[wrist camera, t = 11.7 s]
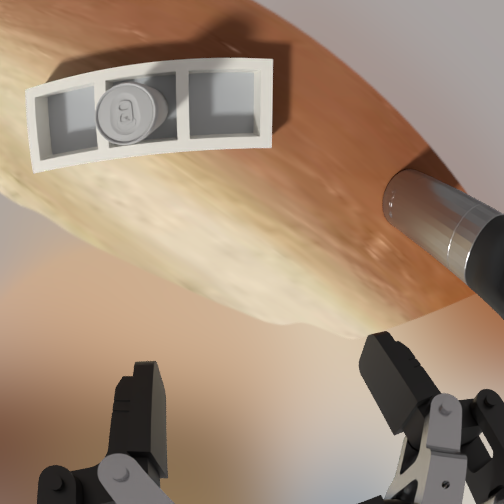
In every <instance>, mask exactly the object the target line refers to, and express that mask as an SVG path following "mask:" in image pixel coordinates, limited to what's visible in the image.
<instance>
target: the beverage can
mask: <svg viewBox="0 0 504 504" xmlns="http://www.w3.org/2000/svg"><path fill="white" fill-rule="evenodd" d="M167 114H168V103H167V100H166V99H165V97H164V95H163V94H162V93H161V92H160V91H158V90H156V89H154V88H151V87H149V86H146V85H144V84H141V83H137V82H122V83H120V84H117V85H115V86H113V87H112V88H110V89H109V90H107V91H106V92H105V93H104V94H103V95H102V96H101V98H100V100H99V101H98V103H97V106H96V110H95V123H96V127H97V129H98V131H99V133H100V134H101V135H102V136H103V137H104V138H105V139H106V140H108V141H109V142H111V143H114V144H119V145H131V144H134V143H137V142H140V141H141V140H143V139H144V138H146V137H147V136H148V135H150V134H151V133H152V132H153V131H154V130H156V129H157V128H158V127H159V126H160V125H161V124H162V123H163V122H164V121H165V119H166V117H167Z"/></svg>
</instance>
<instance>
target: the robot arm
mask: <svg viewBox="0 0 504 504" xmlns="http://www.w3.org/2000/svg"><path fill="white" fill-rule="evenodd" d="M383 212H384V215H385V217H386V219H387V221H388V222H389V223H390V224H391V225H393V226H394V227H396V228H397V229H398V230H400V231H401V232H402V233H404V234H405V235H406V236H407V237H409V238H410V239H411V240H413V241H414V242H415V243H416V244H418V245H419V246H420V247H422V248H423V249H424V250H425V251H427V252H428V253H429V254H430V255H432V256H433V257H434V258H435V259H437V260H438V261H439V262H440V263H442V264H443V265H444V266H445V267H446V268H448V269H449V270H450V271H451V272H452V273H454V274H455V275H456V276H457V277H458V278H460V279H461V280H462V281H463V282H464V283H465V284H466V285H468V286H469V287H470V288H471V289H472V290H473V291H474V292H475V293H477V294H478V295H479V296H480V297H481V298H482V299H483V300H484V301H485V302H486V303H488V304H489V305H490V306H491V307H492V308H493V309H494V310H495V311H496V312H497V313H498V314H499V315H500V316H501V317H502V318H503V320H504V214H502V213H501V212H499V211H497V210H496V209H494V208H492V207H490V206H488V205H486V204H485V203H483V202H481V201H479V200H477V199H475V198H473V197H471V196H470V195H468V194H466V193H464V192H462V191H460V190H458V189H456V188H454V187H452V186H450V185H448V184H446V183H443V182H441V181H439V180H437V179H435V178H433V177H431V176H429V175H426V174H424V173H422V172H419V171H417V170H415V169H407V170H403V171H401V172H399V173H398V174H397V175H395V176H394V177H393V179H392V180H391V181H390V182H389V184H388V186H387V188H386V190H385V193H384V197H383ZM359 370H360V373H361V376H362V377H363V379H364V381H365V383H366V385H367V386H368V388H369V390H370V392H371V394H372V395H373V397H374V399H375V401H376V403H377V405H378V406H379V408H380V410H381V412H382V414H383V416H384V418H385V419H386V421H387V423H388V425H389V427H390V429H391V431H392V432H393V434H394V435H396V434H399V433H402V432H404V433H405V435H406V436H405V438H404V440H403V445H402V449H401V454H400V458H399V463H398V466H397V470H396V474H395V477H394V480H393V481H392V483H391V485H390V486H389V488H388V490H387V492H386V495H385V498H384V499H383V498H382V496H381V495H379V496H377V497H374V498H372V499H369V500H367V501H364V502H361V503H358V504H462V499H463V493H464V486H465V480H466V483H467V485H468V487H469V489H470V491H471V493H472V495H473V498H474V500H475V502H476V504H504V402H503V401H502V399H501V398H500V396H499V395H498V394H497V393H496V392H494V391H493V390H490V389H483V390H481V391H480V392H479V393H478V394H477V396H476V397H475V398H474V399H467V400H457V398H455V397H454V396H452V395H450V394H442V393H441V392H440V391H439V390H438V388H437V387H436V385H435V384H434V383H433V381H432V380H431V378H430V377H429V375H428V374H427V373H426V371H425V370H424V368H423V367H422V366H420V363H419V362H418V360H417V359H415V356H414V355H413V353H412V352H411V351H410V349H409V348H407V347H406V346H405V345H404V344H402V343H401V342H399V341H397V342H396V341H395V340H394V339H393V337H392V336H391V335H390V333H388V332H387V331H384V332H380V333H375V334H371V335H369V336H368V337H367V339H366V342H365V345H364V348H363V351H362V354H361V357H360V360H359ZM482 432H483V434H484V436H485V437H486V439H487V441H488V443H489V444H490V446H491V448H492V450H493V458H491V457H490V455H489V453H488V451H487V450H486V448H485V446H484V444H483V443H482V441H481V439H480V437H479V435H480V433H482ZM160 478H168V471H167V445H166V395H165V389H164V385H163V382H162V378H161V375H160V372H159V368H158V365H157V362H156V361H146V362H135V365H134V372H133V376H123V377H122V379H121V380H120V382H119V383H118V385H117V387H116V389H115V396H114V404H113V413H112V418H111V428H110V436H109V446H108V452H107V454H106V456H105V458H104V459H103V460H102V461H101V462H100V463H99V464H98V465H96V466H94V467H90V468H85V469H80V470H75V471H69V470H68V469H66V468H64V467H62V466H58V465H53V466H49V467H47V468H46V469H44V470H43V471H42V473H41V474H40V477H39V482H38V495H37V504H175V503H174V502H172V500H171V499H170V498H169V497H167V495H166V494H165V493H164V492H163V491H162V490H161V489H160Z"/></svg>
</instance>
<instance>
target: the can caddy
mask: <svg viewBox="0 0 504 504" xmlns="http://www.w3.org/2000/svg"><path fill="white" fill-rule="evenodd" d="M122 82H137V83H141V84H144V85H146V86H149V87H151V88H154V89H156V90H158V91H160V92H161V93H162V94H163V95H164V97H165V99H166V100H167V103H168V114H167V117H166V119H165V121H164V122H163V123H162V124H161V125H160V126H159V127H158V128H157V129H156V130H154V131H153V132H152V133H151V134H150V135H148V136H147V137H146V138H144V139H143V140H141V141H140V142H137V143H134V144H131V145H119V144H114V143H111V142H109V141H108V140H106V139H105V138H104V137H103V136H102V135H101V134H100V133H99V131H98V129H97V127H96V123H95V110H96V106H97V103H98V101H99V100H100V98H101V96H102V95H103V94H104V93H105V92H106V91H107V90H109V89H110V88H112V87H113V86H115V85H117V84H120V83H122ZM25 97H26V116H27V128H28V138H29V147H30V155H31V162H32V169H33V173H38V172H43V171H48V170H53V169H58V168H63V167H68V166H74V165H80V164H86V163H92V162H98V161H105V160H112V159H119V158H127V157H135V156H143V155H152V154H162V153H173V152H185V151H199V150H216V149H240V148H272V101H273V59H261V58H199V59H181V60H168V61H158V62H149V63H141V64H133V65H127V66H120V67H114V68H109V69H103V70H98V71H93V72H88V73H84V74H79V75H75V76H71V77H67V78H63V79H59V80H56V81H52V82H48V83H45V84H42V85H38V86H35V87H32V88H29V89H26V90H25Z"/></svg>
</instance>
